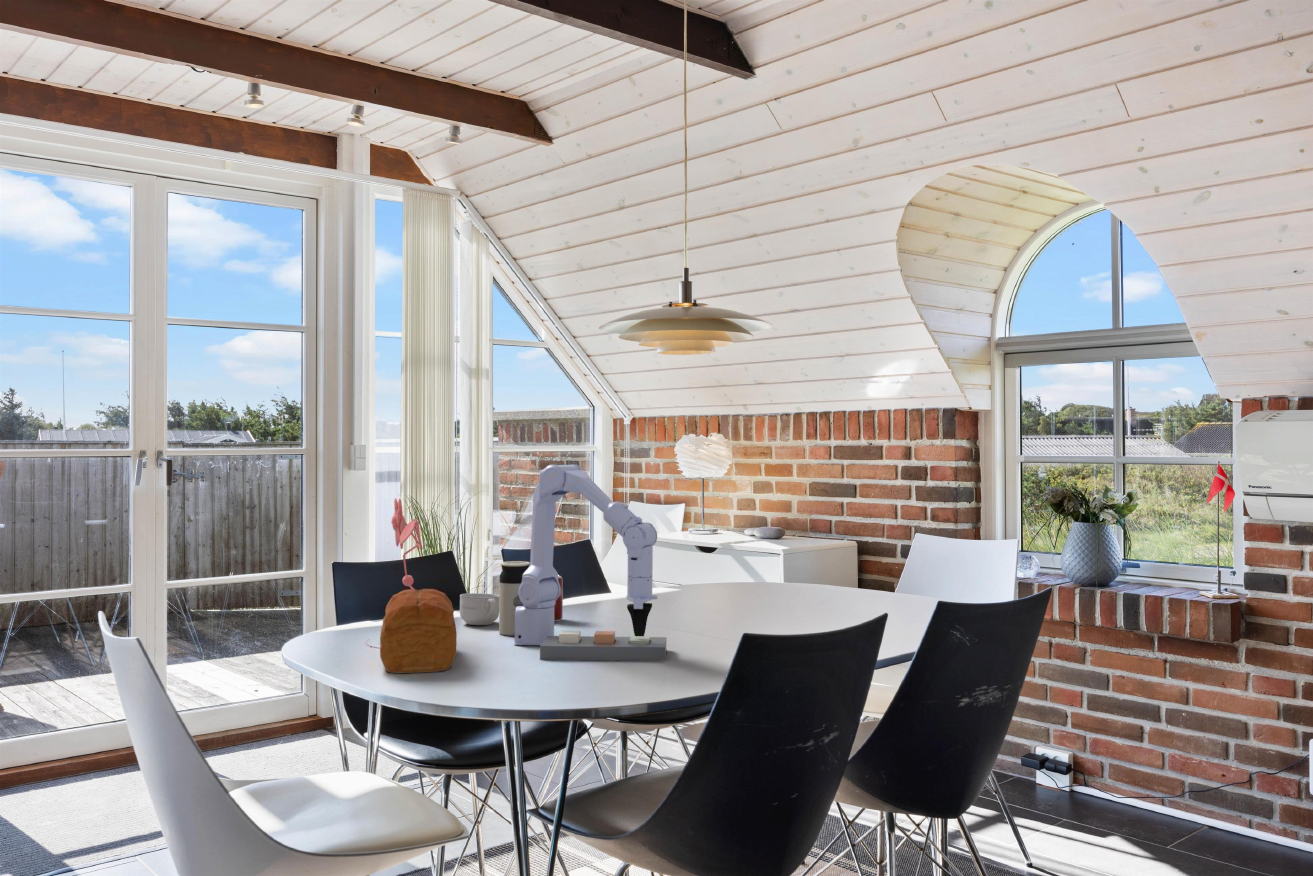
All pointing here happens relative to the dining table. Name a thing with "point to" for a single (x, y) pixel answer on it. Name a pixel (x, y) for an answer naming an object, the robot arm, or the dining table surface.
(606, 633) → the rust button
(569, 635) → the cream button
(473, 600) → the teacup
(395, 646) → the bread
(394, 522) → the figurine
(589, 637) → the button panel
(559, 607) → the soda can
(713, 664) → the dining table surface
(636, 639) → the sage button
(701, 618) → the dining table surface
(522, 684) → the dining table surface
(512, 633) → the travel mug
